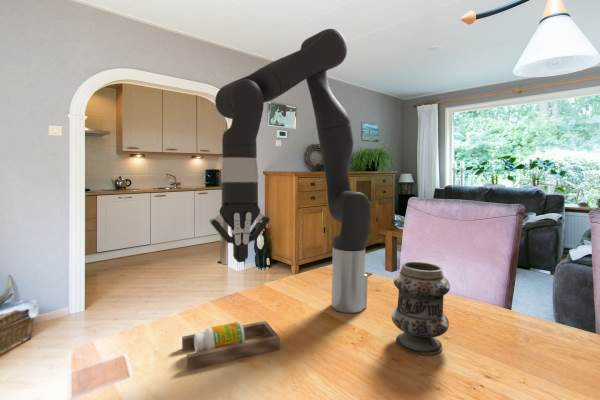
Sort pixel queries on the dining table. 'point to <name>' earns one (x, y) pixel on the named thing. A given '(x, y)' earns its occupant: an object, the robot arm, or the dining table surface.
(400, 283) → the apothecary jar
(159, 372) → the dining table surface
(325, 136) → the robot arm
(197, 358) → the walnut U-rest
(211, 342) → the supplement bottle
